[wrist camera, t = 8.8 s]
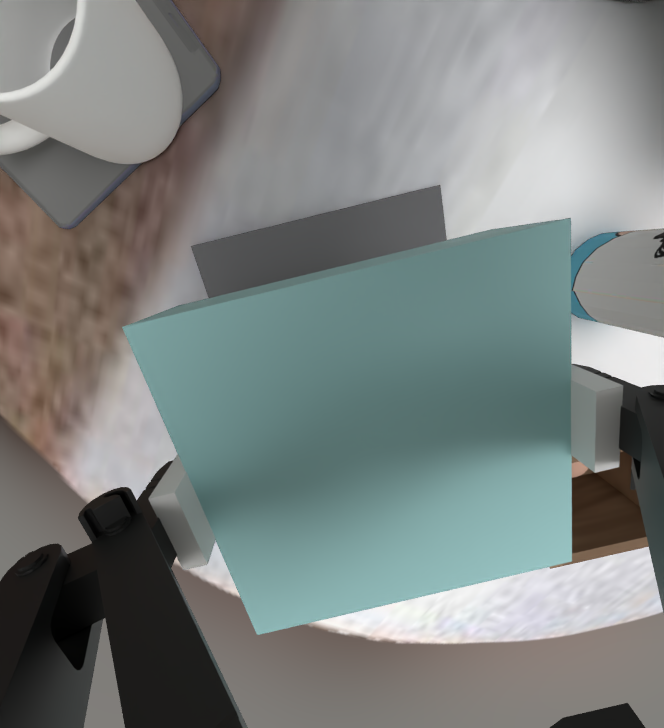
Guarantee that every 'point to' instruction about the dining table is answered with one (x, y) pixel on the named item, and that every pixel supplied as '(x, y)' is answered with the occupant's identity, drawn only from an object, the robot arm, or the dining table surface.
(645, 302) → the printed grey cylinder
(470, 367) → the lid
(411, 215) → the mat
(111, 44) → the mug
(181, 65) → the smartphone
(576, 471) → the ball
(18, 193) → the dining table surface
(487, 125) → the dining table surface
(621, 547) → the box
